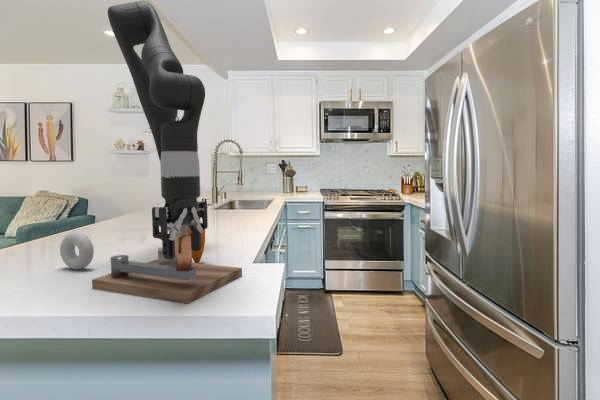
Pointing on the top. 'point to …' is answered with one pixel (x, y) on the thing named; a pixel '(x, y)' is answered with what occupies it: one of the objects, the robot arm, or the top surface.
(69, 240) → the donut
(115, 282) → the press board
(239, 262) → the top surface
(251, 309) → the top surface
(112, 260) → the lever
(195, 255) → the carrot
